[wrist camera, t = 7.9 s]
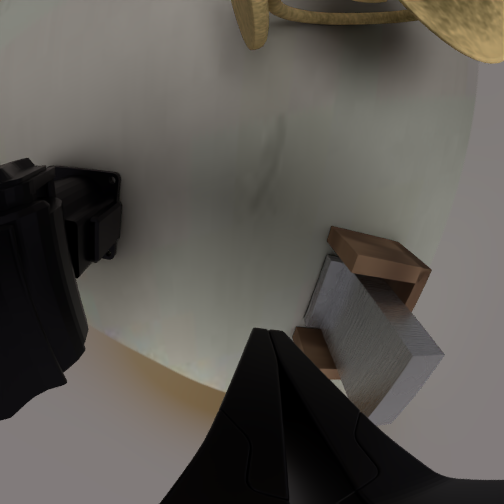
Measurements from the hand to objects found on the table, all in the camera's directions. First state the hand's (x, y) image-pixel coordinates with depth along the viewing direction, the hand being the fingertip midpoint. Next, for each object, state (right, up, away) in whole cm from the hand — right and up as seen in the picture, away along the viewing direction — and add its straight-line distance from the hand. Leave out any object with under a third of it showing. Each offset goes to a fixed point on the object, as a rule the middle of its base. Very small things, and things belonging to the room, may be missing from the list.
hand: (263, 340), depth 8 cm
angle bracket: (+7, -1, +15) cm, 17 cm away
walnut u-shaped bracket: (+7, -1, +15) cm, 17 cm away
